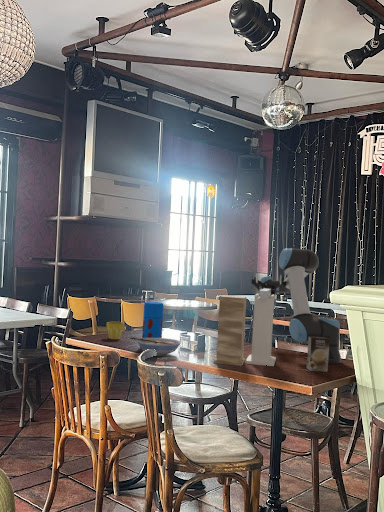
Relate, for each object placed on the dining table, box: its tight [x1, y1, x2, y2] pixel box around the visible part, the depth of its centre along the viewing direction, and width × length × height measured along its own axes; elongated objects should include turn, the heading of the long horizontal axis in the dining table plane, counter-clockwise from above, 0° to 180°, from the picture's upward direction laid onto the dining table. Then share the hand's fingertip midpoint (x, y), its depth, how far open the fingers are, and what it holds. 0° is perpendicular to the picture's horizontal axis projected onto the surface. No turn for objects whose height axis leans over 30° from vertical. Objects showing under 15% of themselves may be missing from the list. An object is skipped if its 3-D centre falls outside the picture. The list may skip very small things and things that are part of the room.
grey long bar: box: [259, 288, 271, 299], centre depth 295 cm, size 28×4×4 cm, turn 169°
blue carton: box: [141, 301, 164, 338], centre depth 317 cm, size 11×11×25 cm
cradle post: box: [245, 293, 277, 367], centre depth 292 cm, size 20×14×34 cm
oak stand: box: [213, 294, 247, 367], centre depth 285 cm, size 14×14×33 cm
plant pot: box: [106, 321, 125, 340], centre depth 342 cm, size 10×10×10 cm
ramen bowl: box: [130, 337, 181, 357], centre depth 294 cm, size 25×23×8 cm
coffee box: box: [305, 336, 330, 373], centre depth 277 cm, size 9×6×16 cm
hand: (268, 275), depth 322 cm, fingers open, 13 cm apart
